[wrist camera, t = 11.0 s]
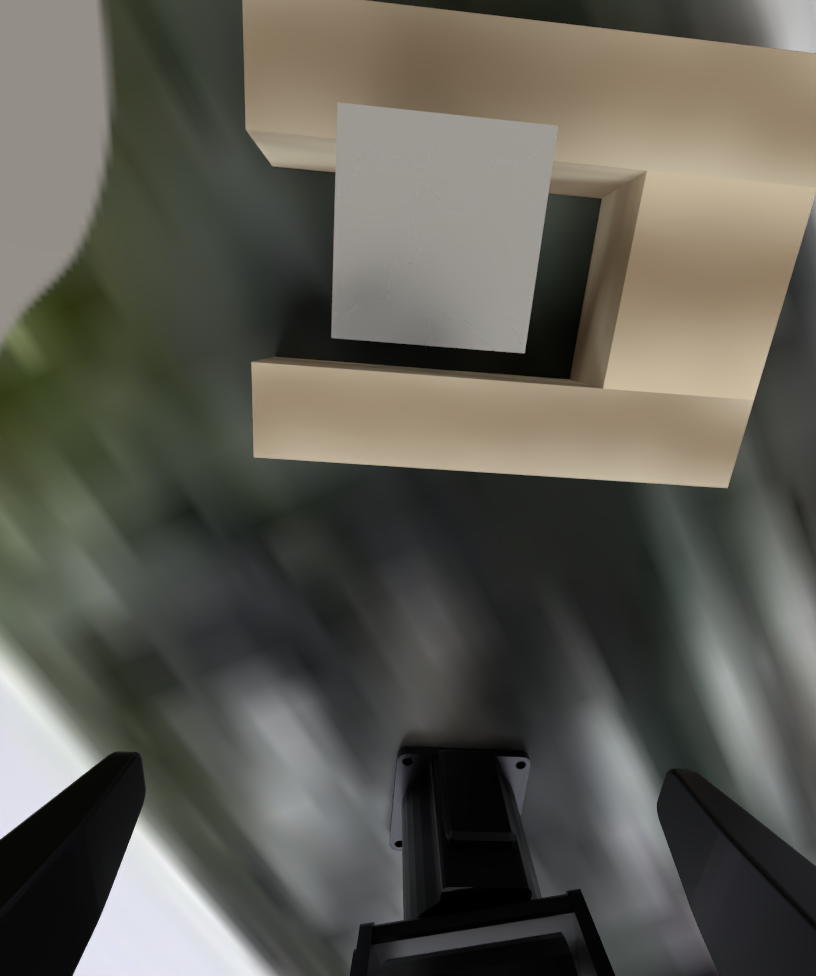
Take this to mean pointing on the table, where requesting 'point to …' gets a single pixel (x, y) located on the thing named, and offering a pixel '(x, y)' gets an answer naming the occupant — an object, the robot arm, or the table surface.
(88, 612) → the table surface
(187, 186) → the table surface
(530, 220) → the grey peg
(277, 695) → the table surface
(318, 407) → the notched board
